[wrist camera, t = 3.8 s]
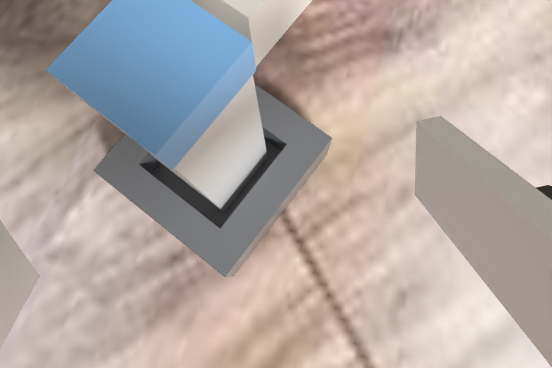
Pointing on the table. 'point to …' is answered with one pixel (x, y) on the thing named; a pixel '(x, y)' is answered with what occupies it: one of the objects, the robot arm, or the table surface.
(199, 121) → the plug
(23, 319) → the table surface
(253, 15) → the port block
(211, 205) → the holster
